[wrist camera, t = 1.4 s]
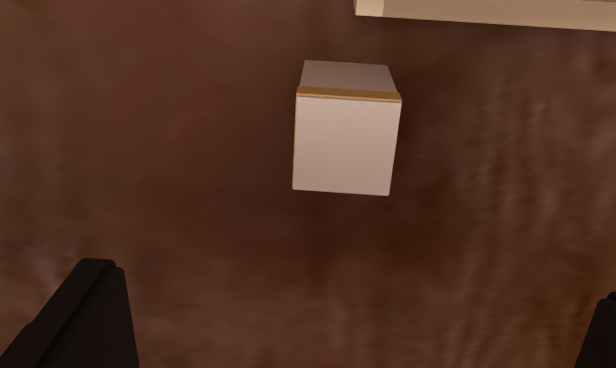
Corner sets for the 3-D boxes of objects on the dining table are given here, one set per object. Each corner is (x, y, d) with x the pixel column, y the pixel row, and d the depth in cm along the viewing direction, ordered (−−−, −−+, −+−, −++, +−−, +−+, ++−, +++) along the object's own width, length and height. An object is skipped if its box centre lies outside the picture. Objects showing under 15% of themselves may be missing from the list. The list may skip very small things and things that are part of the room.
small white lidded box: (378, 142, 27) (389, 196, 22) (300, 137, 27) (291, 190, 22) (388, 64, 25) (402, 102, 20) (304, 58, 25) (295, 95, 20)
